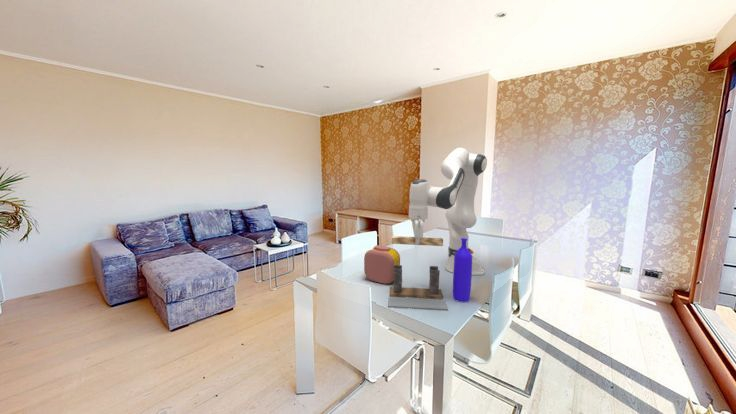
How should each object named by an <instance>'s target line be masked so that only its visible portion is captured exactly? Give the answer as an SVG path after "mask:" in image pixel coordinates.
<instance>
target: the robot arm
mask: <svg viewBox="0 0 736 414" xmlns="http://www.w3.org/2000/svg"><path fill="white" fill-rule="evenodd" d="M487 165H488V159H487V157H486V155H484V154H481V153H479V154H477V153H472V152H469V151H468V150H467V149H466V148H464V147H457V148H455V149H454V150H453V151H451V152H450V153H449V154H448V155H447V156H446V157H445V159H443V161H442V162H441V165H440V171H441V174H442V175H443V176H444V177H445V178H446V179H448V180H450V182H449V184H448V185H447V186H432V185H431V184H429V182H428V180H426V179H415V180H413V181H411V183H410V186H409V197H408V199H409V206H408V219H410V221H411V225H412V231H413V237H415V244H417V245H416V246H420V245H419V241H420V238H423V237H424V223H425V221H426V220H427V219H428V218H429V217H428V213H429V207H431V208H432V207H435V208H440V209H443V210H445V213H444V214H445V219H446V222H447V227H448V231H449V238H448V239H449V242H448V243H449V246H448V249H447V256H448V257H447V262H446V266H445V270H446V271H447V272H450V273H452V274H453V273H454V257H455V253H456V252H457V251H458V250H459V249H460V248H461V246H462V240H461V238H466V239H468V240H467V241H466V247H467V249H468V250H469V251H470V253H471V254H472V276H475V275H477V276H479V275H480V276H481V275H485V270H484V269H483V267H481V263H480V261H479V259H478V258H476V257H475V256H474V255H473V254H475V252H474V250H472V249H471V248H470V247H469V233H468V231H467V229H472V228H473V227H474V226H475V225H476V223H477V215H476V213H475V197H476V192H477V187H478V184H479V183H478V182H479V175H481V174H482V173H484V171H486V168H487ZM455 204H456V205H455Z"/></svg>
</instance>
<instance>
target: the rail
mask: <svg viewBox="0 0 736 414" xmlns="http://www.w3.org/2000/svg"><path fill="white" fill-rule="evenodd" d="M393 244H394V245H413V246H431V247H432V246H433V247H444V239H443V238H441V237H424V236H423V238H420V241H419V245H417V244H415V237H414V236H398V235H396V236H395V235H392V236H391V245H393Z"/></svg>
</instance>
